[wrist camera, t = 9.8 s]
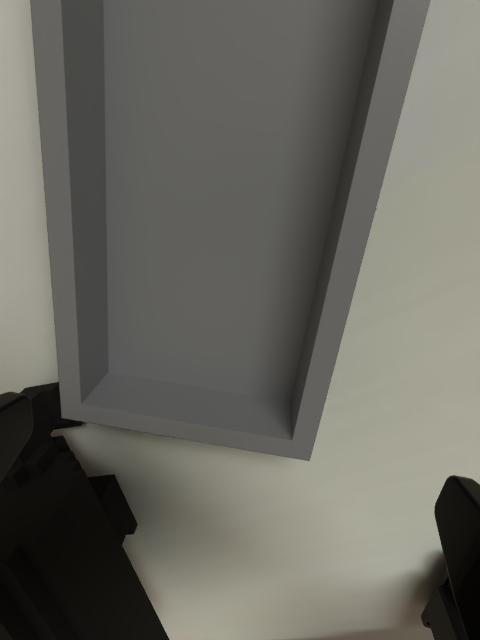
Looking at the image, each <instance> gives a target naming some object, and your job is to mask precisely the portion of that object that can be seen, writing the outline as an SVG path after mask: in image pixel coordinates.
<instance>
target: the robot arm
mask: <svg viewBox="0 0 480 640" xmlns="http://www.w3.org/2000/svg"><path fill="white" fill-rule="evenodd" d="M32 430H33V416H32V405H31V399H30V397H29V396H28V395H26V394H21V393H15V392H7V393H4V394H1V395H0V482H1V480H2V479H3V477H4V476H5V474H6V473H7V471H8V470H9V468H10V467H11V465H12V464H13V462H14V461H15V459H16V457H17V456H18V454H19V453H20V451H21V450H22V448H23V447H24V445H25V444H26V442H27V441H28V439H29V437H30V436H31V433H32ZM435 519H436V523H437V527H438V532H439V536H440V540H441V545H442V549H443V553H444V558H445V562H446V566H447V568H446V570H445V571H444V573H443V575H442V577H441V579H440V581H439V583H438V585H437V587H436V588H435V590H434V592H433V594H432V596H431V598H430V600H429V602H428V604H427V605H426V607H425V609H424V611H423V613H422V615H421V619H422V622H423V625H424V626H425V627H428V628H431V630H432V633H433V636H434V639H435V640H480V485H479V484H478V483H477V482H476V481H474V480H472V479H470V478H465V477H460V476H455V475H453V476H449V477H448V478H447V480H446V482H445V484H444V486H443V488H442V490H441V493H440V495H439V497H438V499H437V501H436V504H435Z"/></svg>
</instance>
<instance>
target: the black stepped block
mask: <svg viewBox="0 0 480 640" xmlns="http://www.w3.org/2000/svg"><path fill="white" fill-rule="evenodd" d="M20 393H21V394H26V395H28V396H29V397H30V399H31V405H32V416H33V430H32V433H31V436H30V437H29V439H28V441H27V442H26V444H25V445H24V447H23V448H22V450H21V451H20V453H19V454H18V456H17V457H16V459H15V461H14V462H13V464H12V465H11V467H10V468H9V470H8V471H7V473H6V474H5V476H4V477H3V479H2V480H1V482H0V640H169V638H168V636H167V634H166V632H165V630H164V628H163V626H162V624H161V622H160V620H159V618H158V616H157V614H156V612H155V610H154V608H153V606H152V604H151V602H150V600H149V598H148V596H147V594H146V592H145V590H144V588H143V586H142V584H141V582H140V580H139V578H138V576H137V574H136V572H135V570H134V568H133V566H132V564H131V562H130V560H129V558H128V556H127V554H126V552H125V550H124V549H123V547H122V543H123V541H124V538H125V536H126V535H130V534H134V532H135V529H136V527H137V522H136V520H135V518H134V516H133V513H132V511H131V509H130V507H129V505H128V503H127V501H126V498H125V496H124V494H123V492H122V490H121V488H120V486H119V484H118V481H117V479H116V477H115V475H114V474H113V475H105V476H97V477H87V475H86V473H85V471H84V470H83V469H82V467H81V465H80V463H79V461H78V460H77V459H76V457H75V455H74V453H73V451H71V450H70V448H69V446H68V445H67V443H66V441H65V439H64V437H63V436H58V437H51V435H50V433H51V432H52V431H53V430H55V429H61V428H68V427H75V426H81V425H82V424H83V423H84V422H83V421H77V420H71V419H65V418H62V414H61V401H60V388H59V382H57V383H51V384H46V385H40V386H34V387H29V388H25V389H24V390H23V391H22V392H20Z"/></svg>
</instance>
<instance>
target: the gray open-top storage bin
mask: <svg viewBox="0 0 480 640" xmlns="http://www.w3.org/2000/svg"><path fill="white" fill-rule="evenodd" d="M429 4H430V0H30V5H31V18H32V31H33V44H34V57H35V71H36V84H37V97H38V110H39V123H40V137H41V150H42V163H43V176H44V190H45V203H46V216H47V229H48V242H49V256H50V269H51V282H52V295H53V309H54V322H55V335H56V348H57V361H58V375H59V388H60V401H61V414H62V418H65V419H71V420H77V421H83V422H88V423H94V424H100V425H106V426H111V427H117V428H123V429H128V430H134V431H140V432H146V433H151V434H157V435H163V436H169V437H174V438H180V439H186V440H192V441H197V442H203V443H209V444H214V445H220V446H226V447H232V448H237V449H243V450H249V451H255V452H260V453H266V454H272V455H278V456H283V457H289V458H295V459H300V460H306V461H310V458H311V454H312V450H313V446H314V442H315V438H316V435H317V431H318V427H319V423H320V419H321V416H322V412H323V408H324V404H325V400H326V396H327V393H328V389H329V385H330V381H331V377H332V374H333V370H334V366H335V362H336V358H337V355H338V351H339V347H340V343H341V339H342V335H343V332H344V328H345V324H346V320H347V316H348V313H349V309H350V305H351V301H352V297H353V294H354V290H355V286H356V282H357V278H358V274H359V271H360V267H361V263H362V259H363V255H364V252H365V248H366V244H367V240H368V236H369V232H370V229H371V225H372V221H373V217H374V213H375V210H376V206H377V202H378V198H379V194H380V191H381V187H382V183H383V179H384V175H385V171H386V168H387V164H388V160H389V156H390V152H391V149H392V145H393V141H394V137H395V133H396V130H397V126H398V122H399V118H400V114H401V110H402V107H403V103H404V99H405V95H406V91H407V88H408V84H409V80H410V76H411V72H412V68H413V65H414V61H415V57H416V53H417V49H418V46H419V42H420V38H421V34H422V30H423V27H424V23H425V19H426V15H427V11H428V7H429Z"/></svg>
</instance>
